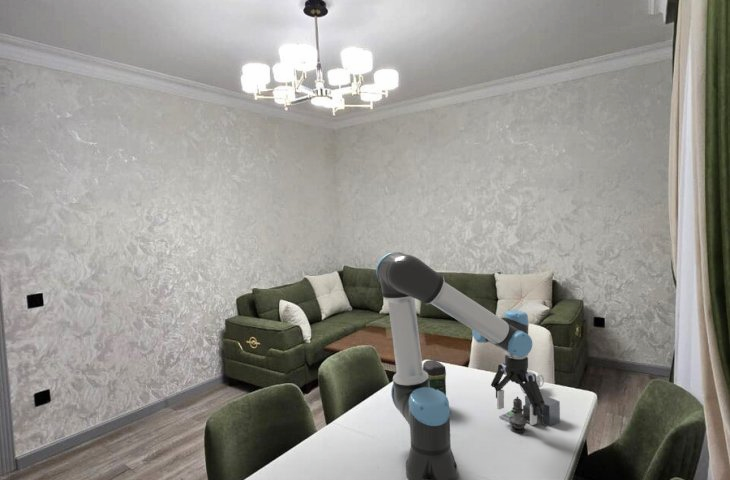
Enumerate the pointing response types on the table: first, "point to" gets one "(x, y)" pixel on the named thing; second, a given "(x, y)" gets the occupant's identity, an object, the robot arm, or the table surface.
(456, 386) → the table surface
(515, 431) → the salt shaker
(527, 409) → the plunger
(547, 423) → the gauge
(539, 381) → the mug
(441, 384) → the coffee jar
